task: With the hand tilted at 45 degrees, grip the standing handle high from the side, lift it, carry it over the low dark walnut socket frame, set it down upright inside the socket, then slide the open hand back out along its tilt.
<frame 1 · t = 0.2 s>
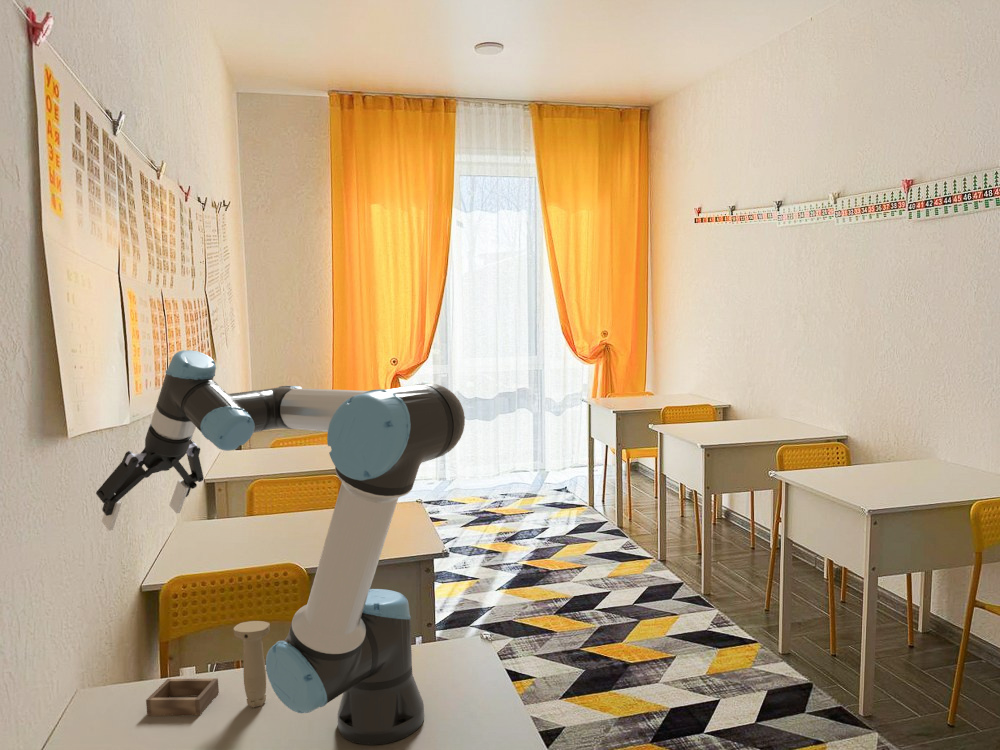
hand: (142, 517, 141), 35 cm above the table, tool tilted 35°, fingers open, 13 cm apart
socket block: (184, 704, 138), on the table
handle: (256, 704, 137), on the table
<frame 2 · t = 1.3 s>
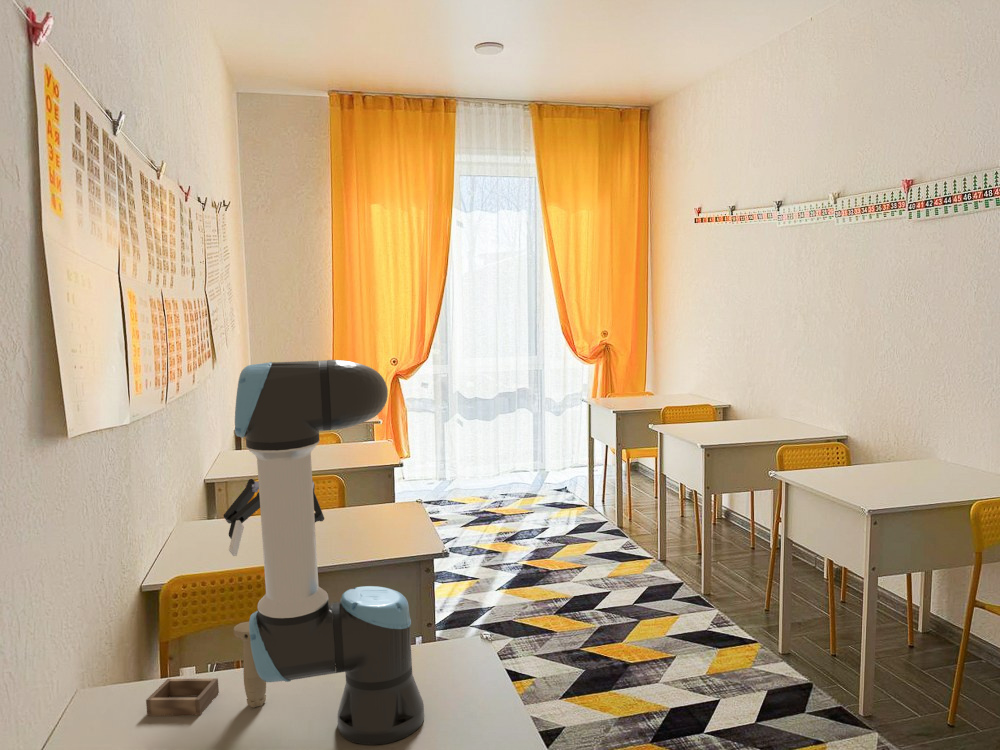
hand: (266, 552, 145), 26 cm above the table, tool tilted 45°, fingers open, 13 cm apart
nothing on the table moved.
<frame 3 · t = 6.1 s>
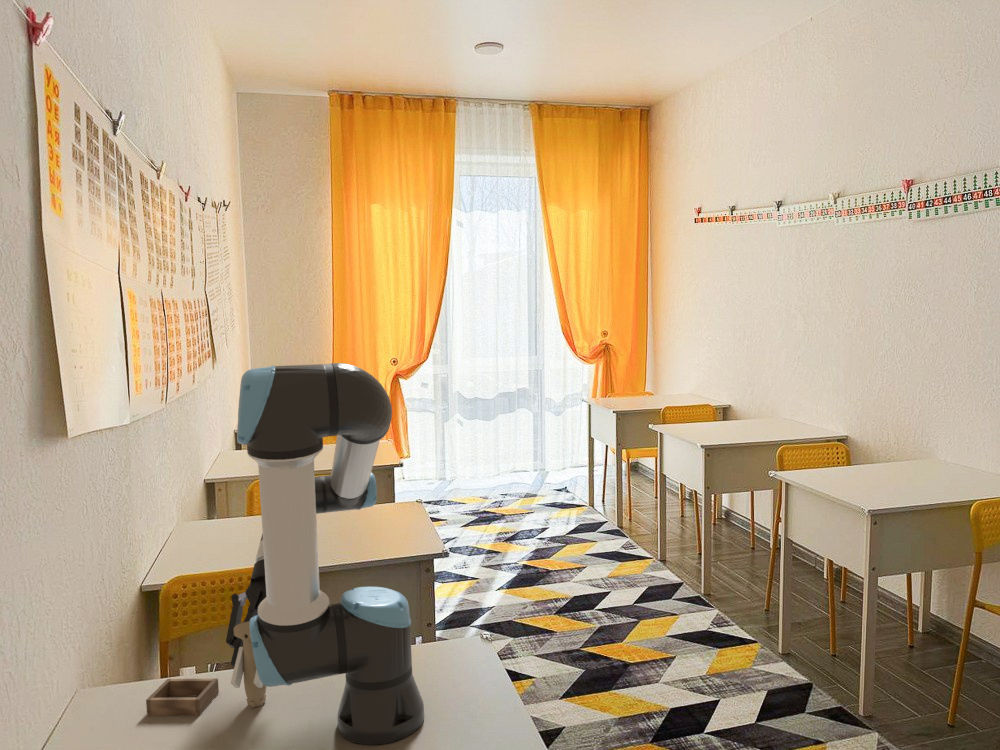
hand: (246, 685, 133), 6 cm above the table, tool tilted 45°, fingers closed on handle, 3 cm apart
handle: (256, 704, 137), on the table, touching gripper
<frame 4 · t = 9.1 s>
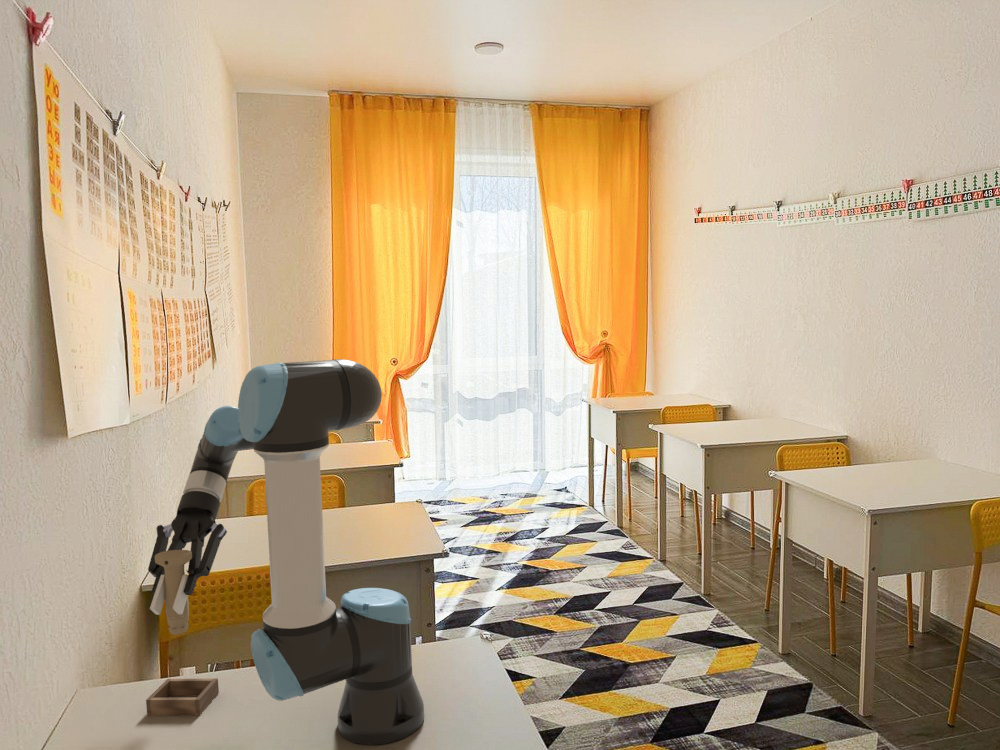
hand: (166, 611, 133), 20 cm above the table, tool tilted 45°, fingers closed on handle, 3 cm apart
handle: (179, 633, 137), point 14 cm above the table, touching gripper
when the fingers open (6 cm above the table, at t = 12.2 s): handle stays where it is, resting in socket block.
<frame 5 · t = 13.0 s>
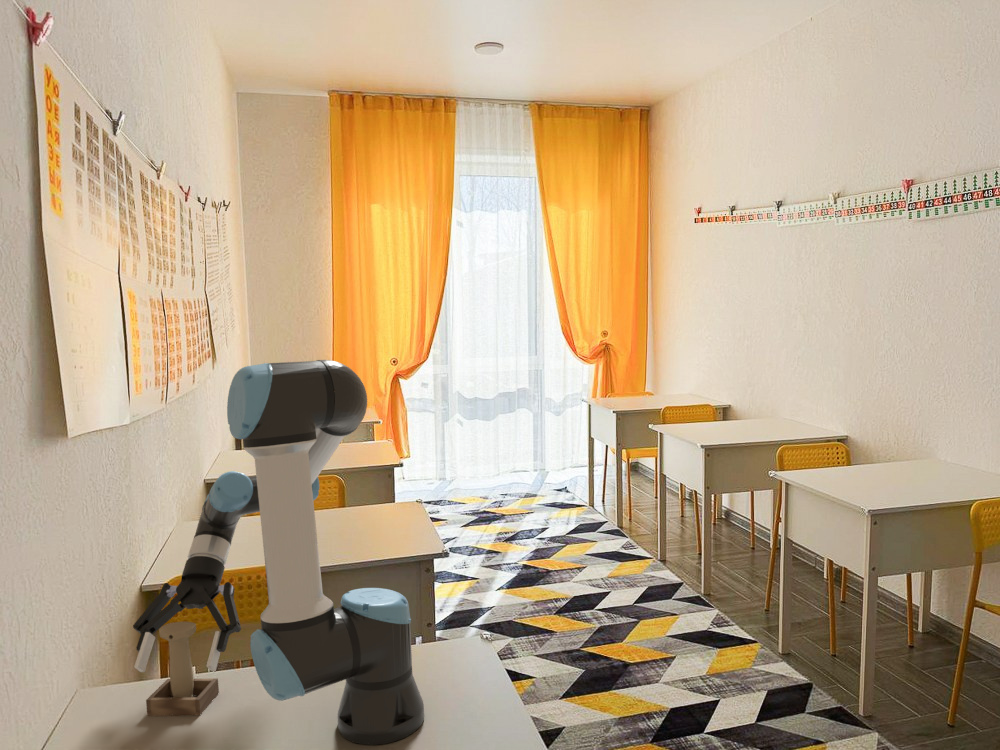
hand: (174, 669, 135), 8 cm above the table, tool tilted 45°, fingers open, 13 cm apart
handle: (184, 704, 138), resting in socket block
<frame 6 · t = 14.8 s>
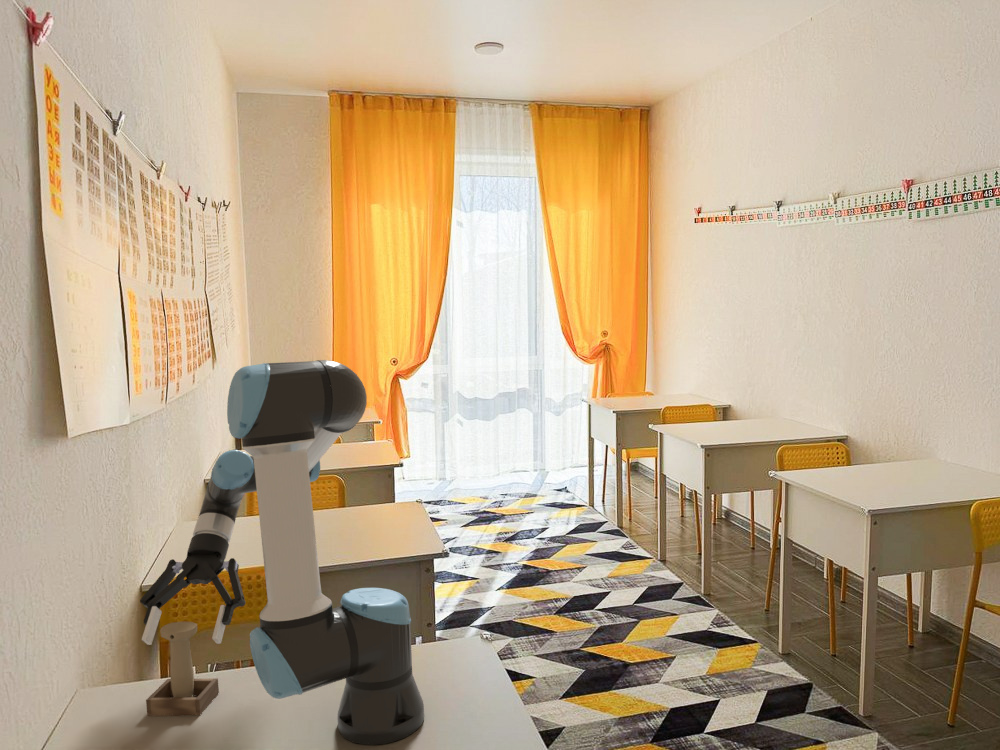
hand: (181, 641, 139), 11 cm above the table, tool tilted 45°, fingers open, 13 cm apart
nothing on the table moved.
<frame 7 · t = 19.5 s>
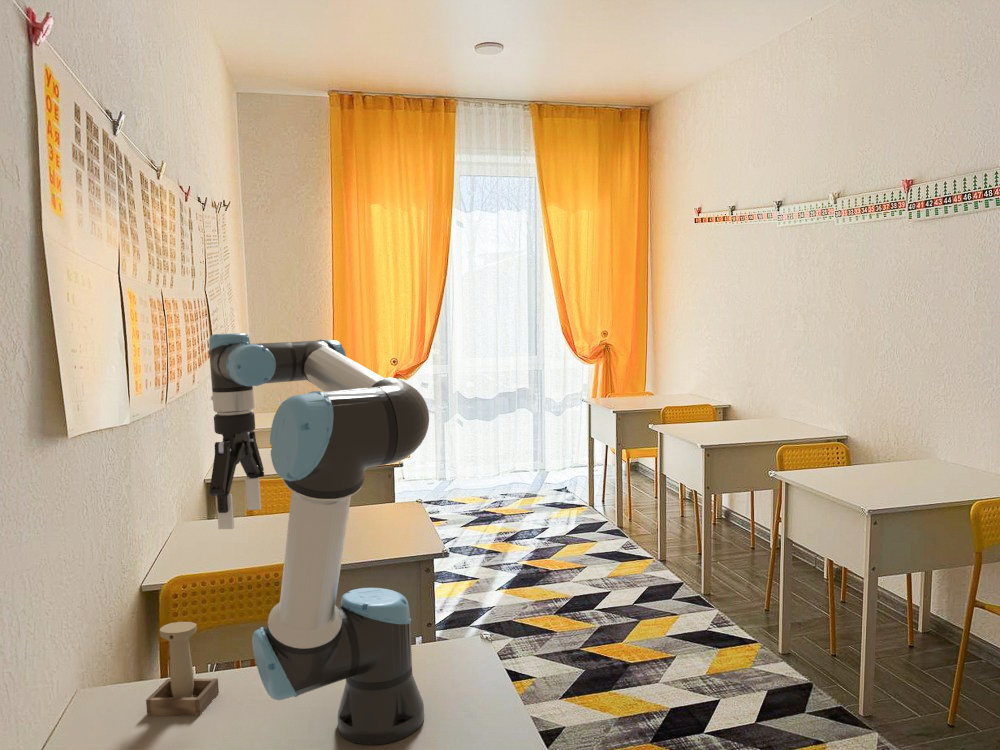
hand: (241, 518, 145), 33 cm above the table, tool pointing down, fingers open, 13 cm apart
nothing on the table moved.
at the end: handle 0.1 cm off-centre on the socket block, point 0.0 cm above the socket block's base; handle tilted 0°; the gripper is holding nothing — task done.
